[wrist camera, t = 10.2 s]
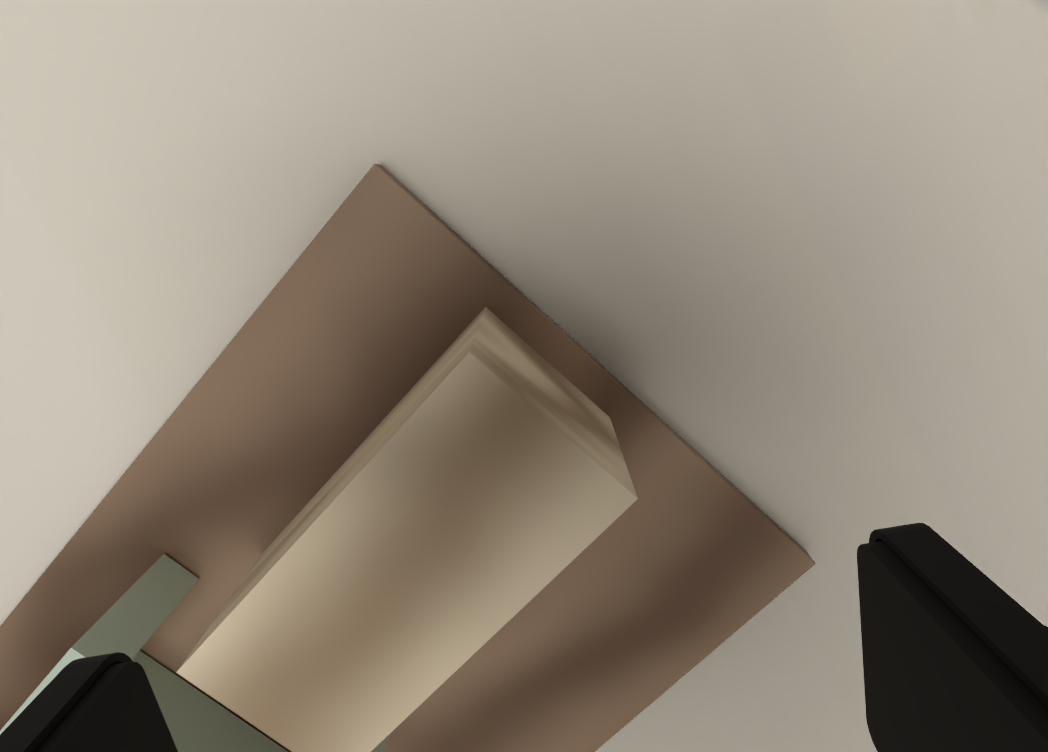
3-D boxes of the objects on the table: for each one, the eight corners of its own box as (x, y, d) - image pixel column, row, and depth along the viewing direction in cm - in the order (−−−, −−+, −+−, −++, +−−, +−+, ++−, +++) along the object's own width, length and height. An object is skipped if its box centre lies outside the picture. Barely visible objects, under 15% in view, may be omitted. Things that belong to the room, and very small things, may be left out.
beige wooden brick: (609, 417, 22) (637, 499, 17) (382, 643, 25) (337, 782, 19) (485, 306, 21) (469, 352, 16) (261, 553, 24) (175, 672, 18)
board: (806, 551, 25) (907, 685, 18) (321, 968, 31) (264, 1182, 24) (380, 164, 21) (312, 155, 14) (-74, 724, 27) (-267, 897, 20)
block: (393, 719, 26) (362, 842, 21) (284, 823, 27) (231, 961, 22) (163, 553, 24) (71, 647, 19) (58, 675, 25) (-52, 791, 20)
